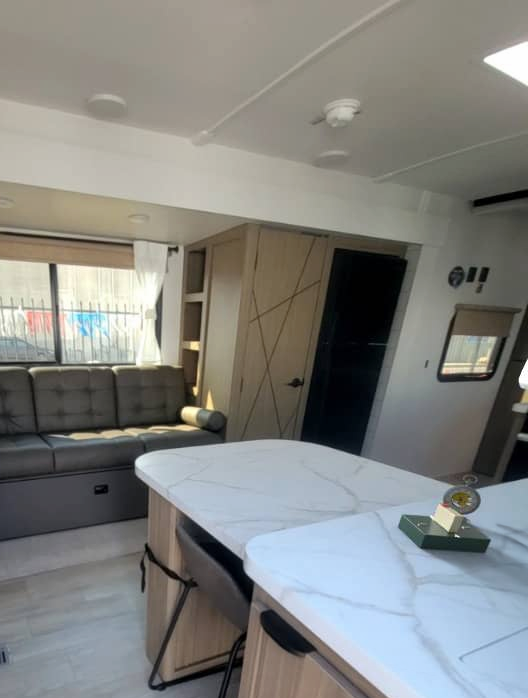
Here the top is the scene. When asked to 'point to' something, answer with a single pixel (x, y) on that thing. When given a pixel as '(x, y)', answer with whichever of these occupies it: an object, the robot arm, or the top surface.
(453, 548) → the dark green flat block
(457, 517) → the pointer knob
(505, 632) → the top surface
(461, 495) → the pocket watch
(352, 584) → the top surface
